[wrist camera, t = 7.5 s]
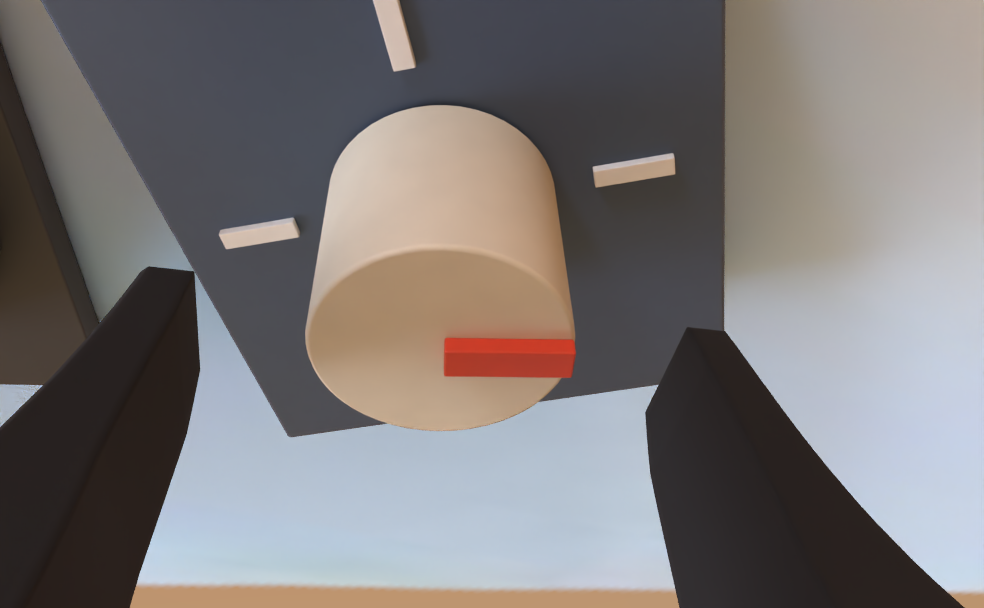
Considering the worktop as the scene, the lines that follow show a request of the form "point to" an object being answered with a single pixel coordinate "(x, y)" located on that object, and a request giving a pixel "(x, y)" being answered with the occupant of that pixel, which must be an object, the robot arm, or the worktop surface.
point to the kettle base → (34, 259)
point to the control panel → (408, 84)
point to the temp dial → (441, 273)
